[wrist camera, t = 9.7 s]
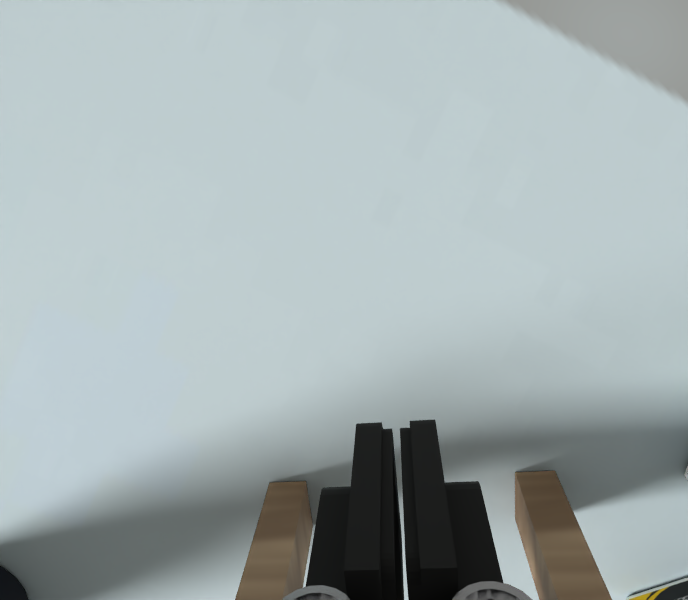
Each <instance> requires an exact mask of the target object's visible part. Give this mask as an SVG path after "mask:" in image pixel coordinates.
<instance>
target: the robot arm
mask: <svg viewBox="0 0 688 600" xmlns="http://www.w3.org/2000/svg"><path fill="white" fill-rule="evenodd" d="M400 438H401V461H402V485H403V508H404V532H405V555H406V572H407V585H408V597H409V600H532V599H531V598H530V597H529V596H527V595H526V594H525V593H524V592H523V591H521V590H519V589H517V588H515V587H513V586H511V585H509V584H504V583H503V580H502V575H501V571H500V567H499V563H498V559H497V554H496V550H495V546H494V542H493V538H492V533H491V529H490V525H489V521H488V517H487V512H486V508H485V504H484V500H483V496H482V491H481V487H480V484H479V482H478V481H476V482H451V483H445V482H444V476H443V469H442V462H441V456H440V449H439V442H438V435H437V429H436V422H435V420H419V421H410V428H400ZM282 600H404V588H403V560H402V538H401V524H400V513H399V501H398V490H397V478H396V467H395V455H394V443H393V432H392V429H383V427H382V422H381V423H361V424H356V433H355V445H354V456H353V468H352V479H351V487H329V488H323V489H322V491H321V495H320V501H319V507H318V514H317V520H316V526H315V532H314V539H313V545H312V551H311V557H310V564H309V570H308V576H307V582H306V587H304V588H300V589H297V590H295V591H294V592H292V593H290V594H288V595H287V596H285V597H284V598H283V599H282Z"/></svg>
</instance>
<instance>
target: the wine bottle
mask: <svg viewBox="0 0 688 600" xmlns="http://www.w3.org/2000/svg"><path fill="white" fill-rule="evenodd" d="M0 600H28V598H27V595H26V592H25V590H24V588H23V587H22V586H21V584H20V583H19V582H18V580H17V579H16V578H15V577H14V576H13V575H12V574H10V573H9V572H8V571H6V570H5V569H4V568H3V567H1V566H0Z"/></svg>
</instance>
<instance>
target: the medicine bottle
mask: <svg viewBox="0 0 688 600" xmlns="http://www.w3.org/2000/svg"><path fill="white" fill-rule="evenodd" d="M626 600H688V578H684V579H681V580H678V581H675V582H672V583H669V584H666V585H663V586H660V587H657V588H653V589H650V590H647V591H644V592H641V593H638V594H635V595H632V596H629V597H627V599H626Z"/></svg>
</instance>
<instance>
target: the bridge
mask: <svg viewBox="0 0 688 600" xmlns="http://www.w3.org/2000/svg"><path fill="white" fill-rule="evenodd" d="M515 520H516V523H517V526H518V530H519V533H520V536H521V540H522V543H523V546H524V550H525V553H526V556H527V560H528V563H529V566H530V570H531V573H532V576H533V580H534V583H535V586H536V590H537V593H538V596H539V600H612V599H611V596H610V594H609V592H608V590H607V587H606V585H605V583H604V581H603V578H602V576H601V574H600V572H599V569H598V567H597V565H596V563H595V560H594V558H593V556H592V554H591V551H590V549H589V547H588V544H587V542H586V540H585V538H584V535H583V533H582V531H581V529H580V526H579V524H578V522H577V520H576V517H575V515H574V513H573V511H572V508H571V506H570V504H569V501H568V499H567V497H566V495H565V492H564V490H563V488H562V486H561V483H560V481H559V479H558V477H557V474H556V472H555V471H535V472H515ZM312 528H313V524H312V517H311V510H310V504H309V497H308V491H307V484H306V481H297V482H273V483H269V486H268V490H267V493H266V497H265V500H264V503H263V507H262V510H261V514H260V517H259V520H258V524H257V527H256V531H255V534H254V537H253V541H252V544H251V548H250V551H249V554H248V558H247V561H246V565H245V568H244V571H243V575H242V578H241V582H240V585H239V588H238V592H237V595H236V599H235V600H282V599H283V598H284V597H285V596H287V595H288V594H290V593H292V592H294V591H295V590H297V589H300V588H303V582H304V576H305V570H306V564H307V558H308V552H309V546H310V540H311V534H312Z"/></svg>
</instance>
